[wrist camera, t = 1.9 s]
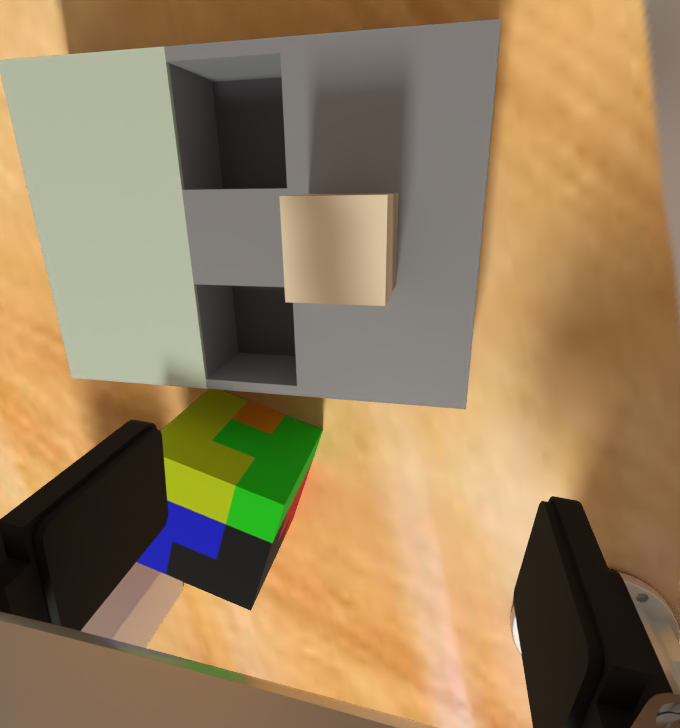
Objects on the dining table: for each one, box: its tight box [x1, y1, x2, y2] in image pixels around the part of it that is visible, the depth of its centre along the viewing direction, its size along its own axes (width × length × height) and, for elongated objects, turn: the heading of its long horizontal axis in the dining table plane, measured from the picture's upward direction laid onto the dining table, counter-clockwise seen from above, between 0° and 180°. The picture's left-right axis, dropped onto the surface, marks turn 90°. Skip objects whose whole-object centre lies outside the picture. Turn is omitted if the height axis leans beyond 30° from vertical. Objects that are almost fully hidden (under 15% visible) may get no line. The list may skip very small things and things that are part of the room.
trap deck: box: [0, 19, 501, 409], centre depth 31 cm, size 28×20×6 cm
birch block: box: [279, 193, 398, 306], centre depth 24 cm, size 5×5×5 cm
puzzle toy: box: [137, 389, 323, 610], centre depth 36 cm, size 10×10×10 cm
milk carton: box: [81, 562, 183, 648], centre depth 39 cm, size 7×7×19 cm
